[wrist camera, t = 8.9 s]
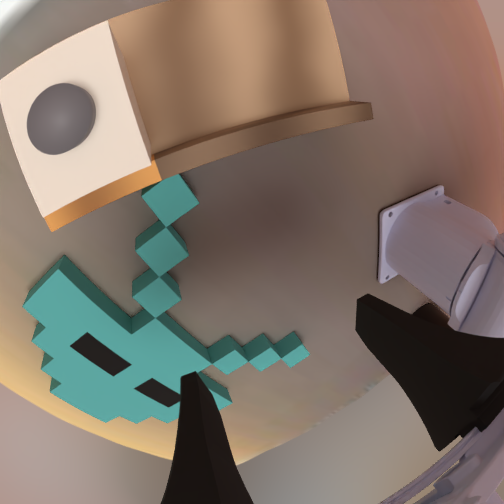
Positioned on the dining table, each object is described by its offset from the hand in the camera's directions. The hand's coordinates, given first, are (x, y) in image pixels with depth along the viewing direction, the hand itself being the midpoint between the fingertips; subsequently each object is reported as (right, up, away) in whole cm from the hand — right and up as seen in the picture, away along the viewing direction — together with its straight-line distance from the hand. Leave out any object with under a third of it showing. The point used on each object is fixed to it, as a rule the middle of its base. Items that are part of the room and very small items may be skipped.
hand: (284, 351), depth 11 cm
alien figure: (-10, -3, +10) cm, 14 cm away
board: (-5, +14, +2) cm, 15 cm away
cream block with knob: (-9, +11, 0) cm, 14 cm away
